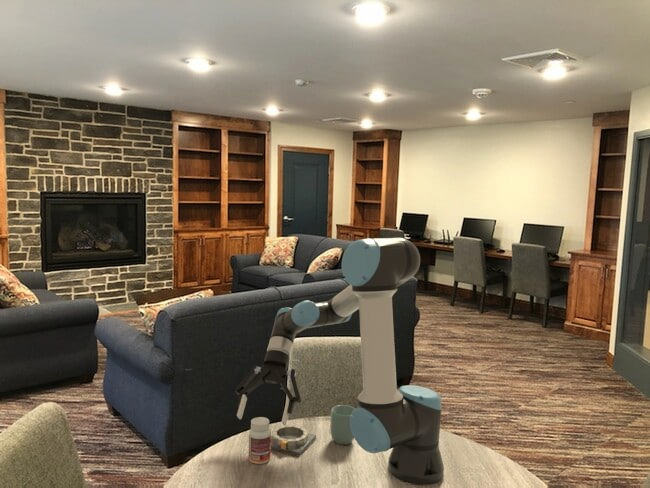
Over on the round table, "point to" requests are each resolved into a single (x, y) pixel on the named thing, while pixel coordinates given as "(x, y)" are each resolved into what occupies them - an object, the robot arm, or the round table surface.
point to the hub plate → (296, 450)
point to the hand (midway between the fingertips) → (261, 420)
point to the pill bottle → (259, 441)
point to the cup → (341, 424)
